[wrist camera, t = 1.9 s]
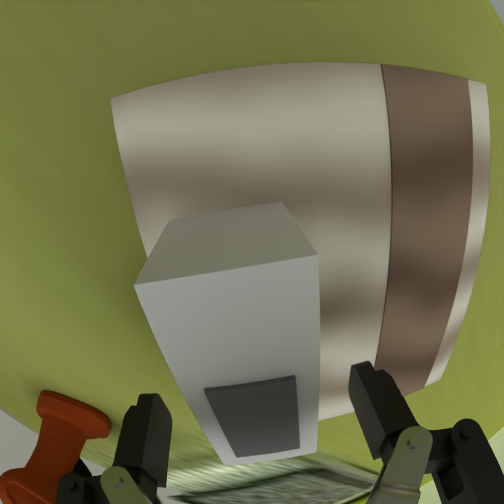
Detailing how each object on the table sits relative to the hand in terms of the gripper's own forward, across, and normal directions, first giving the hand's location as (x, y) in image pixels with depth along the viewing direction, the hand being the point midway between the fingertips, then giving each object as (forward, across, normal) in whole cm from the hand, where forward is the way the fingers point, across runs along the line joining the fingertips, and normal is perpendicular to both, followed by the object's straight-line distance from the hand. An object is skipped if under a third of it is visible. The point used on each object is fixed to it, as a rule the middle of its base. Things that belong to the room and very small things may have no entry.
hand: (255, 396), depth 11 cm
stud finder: (+5, 0, 0) cm, 5 cm away
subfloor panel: (+6, -6, 0) cm, 8 cm away
